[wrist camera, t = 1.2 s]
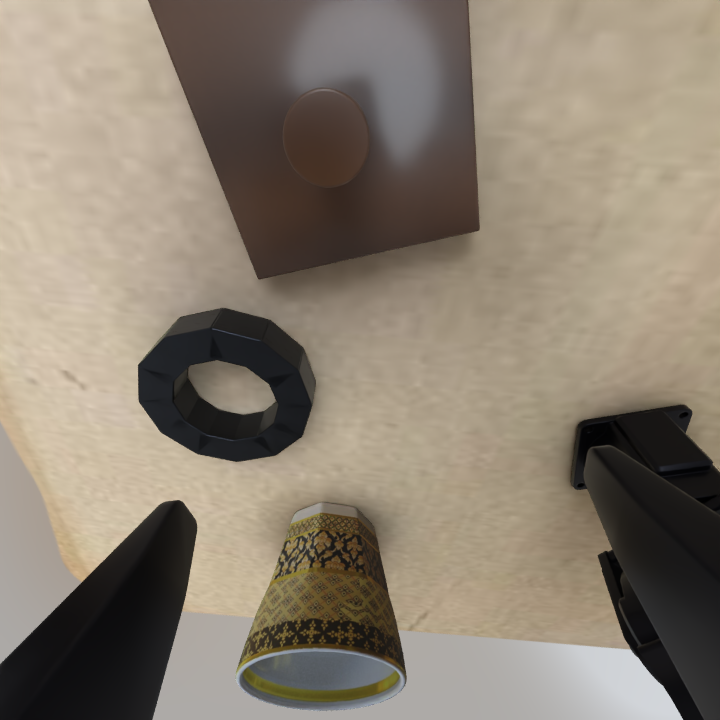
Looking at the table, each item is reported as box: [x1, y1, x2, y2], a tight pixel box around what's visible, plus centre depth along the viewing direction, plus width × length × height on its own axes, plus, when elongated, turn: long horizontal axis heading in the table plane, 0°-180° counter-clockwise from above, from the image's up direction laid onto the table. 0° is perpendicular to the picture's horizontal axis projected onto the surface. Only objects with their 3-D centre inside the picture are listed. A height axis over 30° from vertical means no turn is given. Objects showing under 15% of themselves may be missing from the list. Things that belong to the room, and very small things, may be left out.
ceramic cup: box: [236, 502, 406, 711], centre depth 28 cm, size 13×10×10 cm
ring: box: [138, 308, 316, 462], centre depth 22 cm, size 9×9×2 cm
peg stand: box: [148, 0, 480, 279], centre depth 13 cm, size 10×10×7 cm
